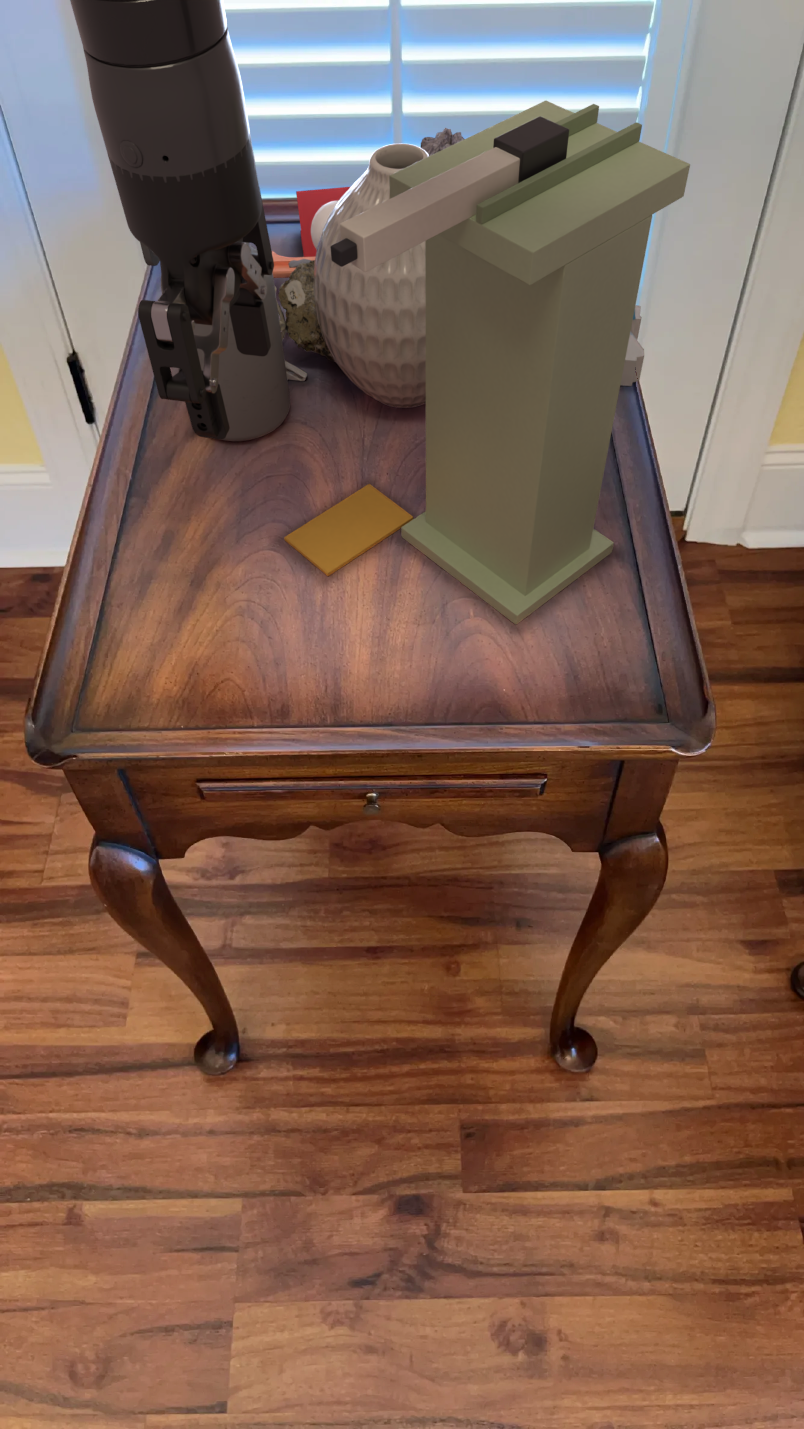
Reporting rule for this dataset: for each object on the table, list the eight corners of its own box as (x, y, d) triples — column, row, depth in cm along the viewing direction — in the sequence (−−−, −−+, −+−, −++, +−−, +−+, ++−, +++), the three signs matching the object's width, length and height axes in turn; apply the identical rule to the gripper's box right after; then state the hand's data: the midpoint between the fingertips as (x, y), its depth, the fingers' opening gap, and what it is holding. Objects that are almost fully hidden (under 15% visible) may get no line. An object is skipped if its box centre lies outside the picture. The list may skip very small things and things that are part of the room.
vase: (318, 345, 103) (294, 117, 85) (471, 331, 104) (480, 103, 86) (330, 447, 94) (307, 216, 76) (498, 430, 95) (515, 198, 77)
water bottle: (175, 440, 95) (95, 132, 72) (203, 377, 101) (137, 73, 78) (278, 449, 94) (230, 140, 71) (300, 385, 99) (263, 79, 77)
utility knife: (251, 248, 107) (392, 242, 99) (254, 257, 108) (395, 251, 99) (231, 271, 105) (373, 266, 97) (234, 279, 106) (376, 276, 97)
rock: (323, 394, 101) (258, 320, 94) (328, 345, 106) (266, 271, 100) (367, 367, 98) (303, 288, 92) (369, 317, 104) (309, 240, 97)
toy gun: (643, 361, 96) (649, 302, 101) (495, 347, 98) (509, 289, 103) (638, 388, 98) (644, 328, 104) (494, 373, 100) (508, 315, 106)
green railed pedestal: (507, 631, 81) (547, 241, 54) (392, 542, 87) (377, 152, 60) (619, 546, 86) (707, 152, 59) (504, 468, 92) (536, 78, 65)
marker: (351, 282, 54) (348, 240, 52) (323, 265, 55) (319, 222, 53) (565, 170, 60) (570, 128, 58) (536, 156, 61) (540, 115, 59)
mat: (327, 576, 85) (327, 573, 84) (284, 540, 87) (283, 537, 87) (413, 519, 88) (413, 516, 88) (369, 486, 91) (369, 483, 91)
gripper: (197, 212, 47) (255, 472, 60) (286, 73, 55) (319, 332, 68) (53, 199, 48) (141, 457, 62) (159, 65, 56) (217, 321, 69)
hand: (234, 391), depth 65 cm, fingers open, 8 cm apart
